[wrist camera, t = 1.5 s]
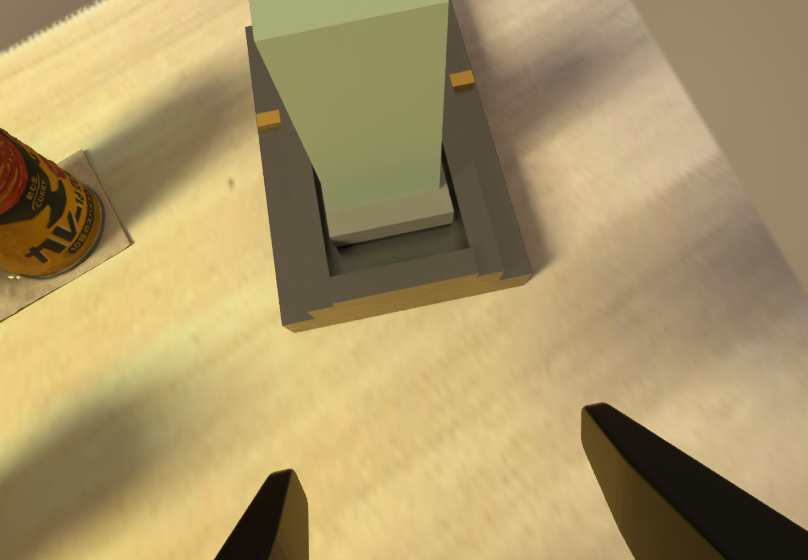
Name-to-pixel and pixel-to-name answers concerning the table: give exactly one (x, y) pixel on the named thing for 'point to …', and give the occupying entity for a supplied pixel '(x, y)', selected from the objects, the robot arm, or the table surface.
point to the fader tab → (364, 106)
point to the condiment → (49, 223)
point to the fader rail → (398, 254)
